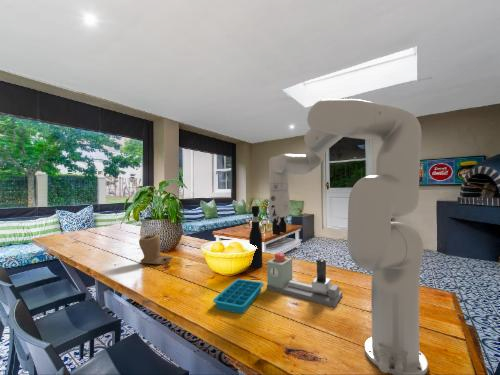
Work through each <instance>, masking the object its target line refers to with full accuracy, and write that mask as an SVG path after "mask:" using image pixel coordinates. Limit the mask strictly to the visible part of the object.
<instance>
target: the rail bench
mask: <svg viewBox="0 0 500 375" xmlns="http://www.w3.org/2000/svg"><path fill="white" fill-rule="evenodd" d="M266 267H267V268H266V280H267V281H266V282H267V283H266V290H270V291H273V292H277V293H281V294H285V295H288V296H292V297H295V298H298V299H303V300H305V301H310V302H314V303H318V304H322V305H325V306H329V307H333V308H336V306H337V304H338V303H339V302H340V300H341V298H342V297H343V291H342V290H340V285H338V284H331V287H330V289H329V290H328V291H327V295H324V294H320V293H316V292H313V290H312V283H306V282H302V281H298V280H294V279H293V258H290V257H286V256H285V262H283V263H281V262H276V261H275V257H274V258H271V259H269V260H268V261H266Z"/></svg>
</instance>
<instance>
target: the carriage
mask: <svg viewBox="0 0 500 375" xmlns="http://www.w3.org/2000/svg"><path fill="white" fill-rule="evenodd" d="M311 284H312V290H313V292H316V293H320V294H324V295H327V291H328V290H329V289H330V288H331V286H332V278H330V277H327V260H326V259H322V258H320V259H319V258H318V259H316V277H315V278H313V280H311Z"/></svg>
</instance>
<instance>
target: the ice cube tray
mask: <svg viewBox="0 0 500 375" xmlns="http://www.w3.org/2000/svg"><path fill="white" fill-rule="evenodd" d="M263 286H264V282H262V281H256V280H255V281H254V280H249V279H248V280H247V279H241V278H237V279H235V280H234V281H233V282H232V283H230V284H229V285H228V286H226V288H225V289H223V290H222V291H221V292H220V293H219V294H218V295H217V296H215V297H214V298H213V300H212V302H213V303H214V304H215V306H216V309H217V310H222V311H225V312H226V311H227V312H232V313H237V314H244V313H245V312H246V310H248V308H249V307H250V306H251V305H252V303H253V302H254V301H255V299H256V298H257V297H258V296H259V294H260V293H261V292H262V287H263Z"/></svg>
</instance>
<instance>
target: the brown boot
mask: <svg viewBox="0 0 500 375" xmlns="http://www.w3.org/2000/svg"><path fill="white" fill-rule="evenodd" d="M138 243H139V246H140V247H139V248H140V250H141V251H142V253H143V258H142V259H141V260H140V263H142V264H150V265H151V264H153V265H165V264H168V263H169V262H170V261H172V259H173V256H169V255H161V252H160V251H161V239H160V236H159V234H157V233H156V234H155V233H154V234H148V235H145V236H142V237H141V238H139V240H138Z"/></svg>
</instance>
